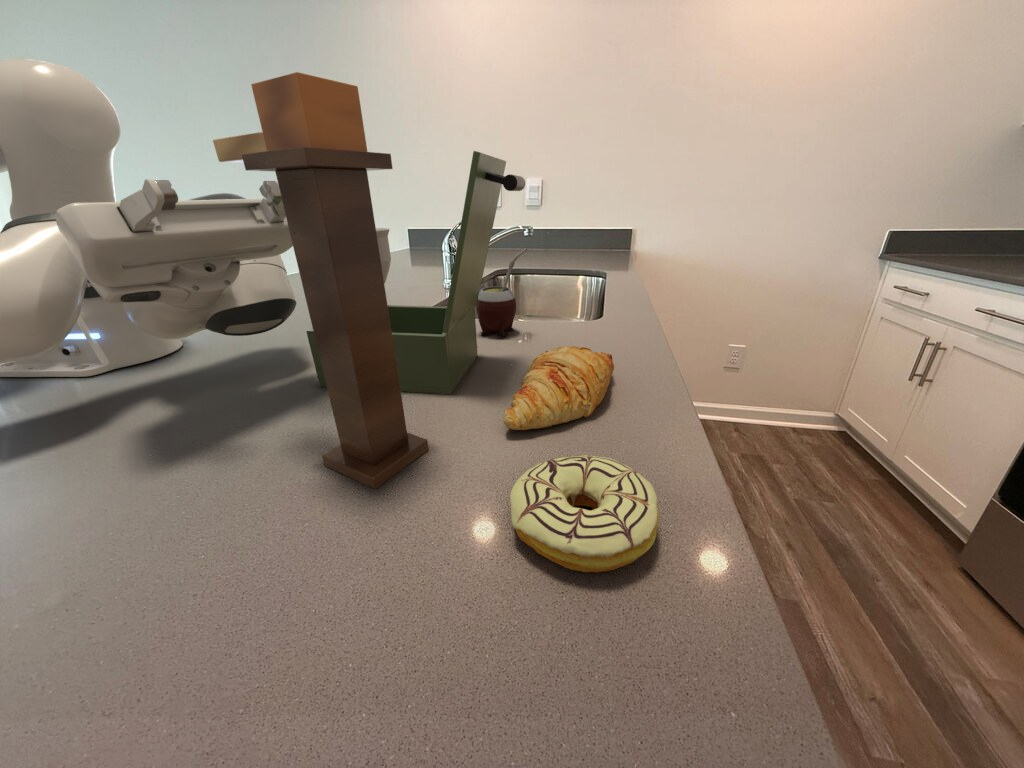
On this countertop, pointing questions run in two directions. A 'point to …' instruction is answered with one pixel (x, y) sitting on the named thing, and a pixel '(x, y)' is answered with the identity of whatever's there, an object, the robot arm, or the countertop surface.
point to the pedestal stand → (346, 303)
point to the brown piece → (300, 117)
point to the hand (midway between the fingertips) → (225, 187)
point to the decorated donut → (585, 512)
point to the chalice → (384, 250)
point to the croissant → (560, 388)
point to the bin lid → (476, 233)
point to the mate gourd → (497, 307)
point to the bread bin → (424, 348)
